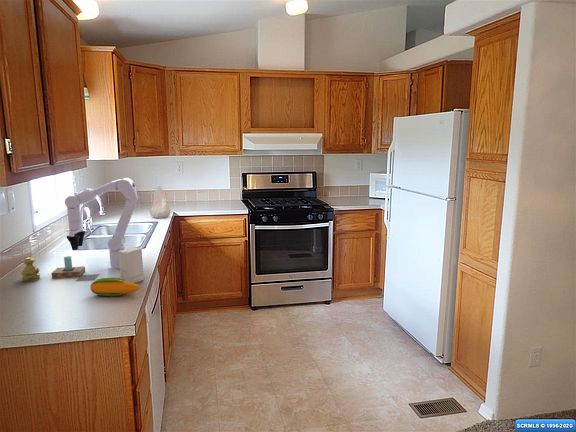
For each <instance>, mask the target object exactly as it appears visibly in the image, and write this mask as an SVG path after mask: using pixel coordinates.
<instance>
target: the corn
mask: <svg viewBox="0 0 576 432" xmlns="http://www.w3.org/2000/svg"><path fill="white" fill-rule="evenodd" d="M121 280H125V279H122V278H121V277H100V278H98V279H95V280H93V282H92V283H91V285H90V286H89V287H90V291H91V292H92V293H93V294H94V295H95V294H96V295H98V296H103V297H120V296H123V295H124V294H130V293H134V292H137V291H138V290H140V285H138V283H131V282H126V281H121Z"/></svg>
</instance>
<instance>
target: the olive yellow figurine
mask: <svg viewBox="0 0 576 432" xmlns="http://www.w3.org/2000/svg"><path fill="white" fill-rule="evenodd" d="M35 262H36V259H35V258H34V257H32V258H31V257H27V258H24V259H23V260H22V263H23V264H25V265H24V266H25V267H23V268H22V269H21V270H20V274H21V276H20V278H21V281H22V282H25V283H29V282H34V281H38V280H40V278H41V273H40V268H39V267H37V266H35V265H34V263H35Z"/></svg>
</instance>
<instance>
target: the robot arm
mask: <svg viewBox="0 0 576 432" xmlns="http://www.w3.org/2000/svg"><path fill="white" fill-rule="evenodd" d="M109 191H115V192H117V191H118V192H120V193H121V194H122V195H123V196H124V198H125V200H126V201H125V204H124V206H123V209H122V211H121V215H120V217H119V220H118V222H117V224H116V228H115V230H114V231H113V233H112V236H111V238H110V239H108V242H107V247H108V251H109V263H110V265H109V266H108V268H107V269H108V270H109V269H120V265H119V254H118V251H121V250H124V249H127V248H126V247H125V245H124V244H125V242H126V238H125V237H126V232H127V229H128V227H129V224H130V221H131V219H132V216H133V213H134V211H135V209H136V206H137V203H138V201H139V195H138V192H137V187H136V183H135V182H134V181H133V179H132V178H129V177H124V178H122V179H121V178H120V179H116V180H113V181H110V182H108V183H105V184H103V185H101V186H99V187H97V188H94V189H93V188H87V187H86V188H83V190H82V191H81V190H80V191H79V192H74V193H73V194H71V195H69V196H67V197H66V198H65V199H64V205H65V206H66V209H67V210H66V211H67V221H68V229H66V232H69V233H68V235H66V236H65V237H66V239H67V240H68V242H69V244H70V247H71V249H72V251H78V249H79V247H83V243H84V238H85V234H86V230H84V229H83V222H82V221H83V220H82V212H81V205H84V204H87V203H89V202H92V201H94V200H96V197H97V196H99V195H103V194H104V193H106V192H109Z"/></svg>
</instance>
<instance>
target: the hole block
mask: <svg viewBox="0 0 576 432" xmlns="http://www.w3.org/2000/svg"><path fill="white" fill-rule="evenodd" d="M72 269H73V271H65V266H64V267H57V268H56V269H54V270H53V271H52V272H51V279H71V278H73V279H74V278H79V277H81V276H82V275H85V273H86V266H72Z"/></svg>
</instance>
